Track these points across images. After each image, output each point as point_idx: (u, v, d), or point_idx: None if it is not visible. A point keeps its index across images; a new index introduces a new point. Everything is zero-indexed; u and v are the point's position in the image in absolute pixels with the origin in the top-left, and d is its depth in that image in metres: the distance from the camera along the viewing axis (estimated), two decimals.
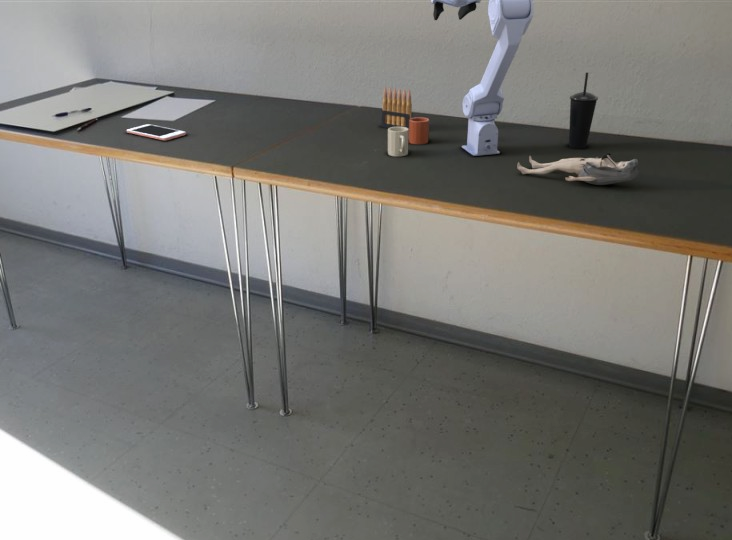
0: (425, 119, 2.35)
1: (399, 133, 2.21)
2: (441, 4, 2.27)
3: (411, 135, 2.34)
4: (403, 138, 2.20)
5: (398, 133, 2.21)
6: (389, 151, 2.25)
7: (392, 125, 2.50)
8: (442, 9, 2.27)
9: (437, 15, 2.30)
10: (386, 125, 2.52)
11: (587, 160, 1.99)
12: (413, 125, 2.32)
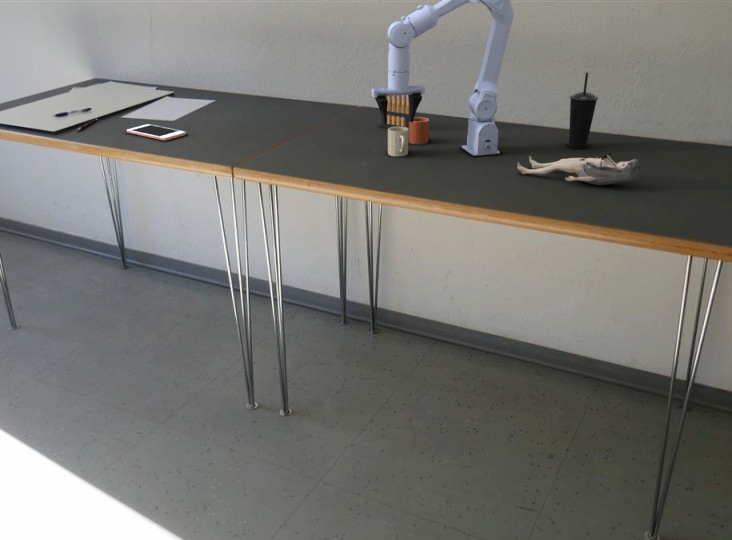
0: (425, 119, 2.35)
1: (399, 133, 2.21)
2: (384, 97, 2.17)
3: (411, 135, 2.34)
4: (403, 138, 2.20)
5: (398, 133, 2.21)
6: (389, 151, 2.25)
7: (392, 125, 2.50)
8: (386, 99, 2.16)
9: (384, 113, 2.19)
10: (386, 125, 2.52)
11: (587, 160, 1.99)
12: (413, 125, 2.32)
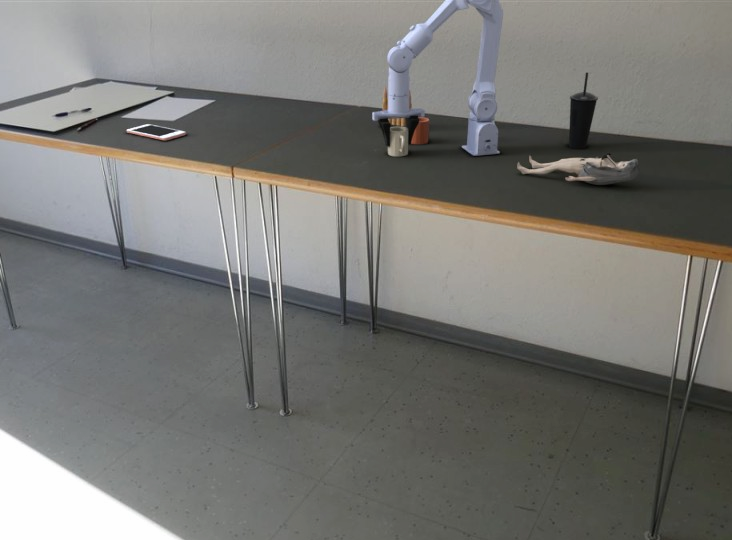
0: (425, 119, 2.35)
1: (399, 133, 2.21)
2: (386, 120, 2.20)
3: None
4: (403, 138, 2.20)
5: (398, 133, 2.21)
6: (389, 151, 2.25)
7: (392, 125, 2.50)
8: (388, 122, 2.19)
9: (387, 136, 2.22)
10: None
11: (587, 160, 1.99)
12: None
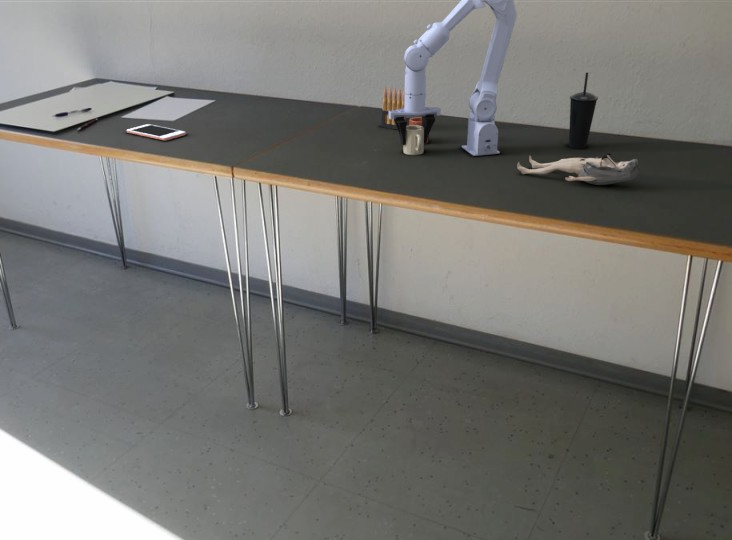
0: None
1: (415, 132, 2.22)
2: (403, 119, 2.21)
3: None
4: (419, 137, 2.21)
5: (414, 131, 2.22)
6: (405, 150, 2.26)
7: (392, 125, 2.50)
8: (404, 121, 2.20)
9: (403, 134, 2.23)
10: (386, 125, 2.52)
11: (587, 160, 1.99)
12: None
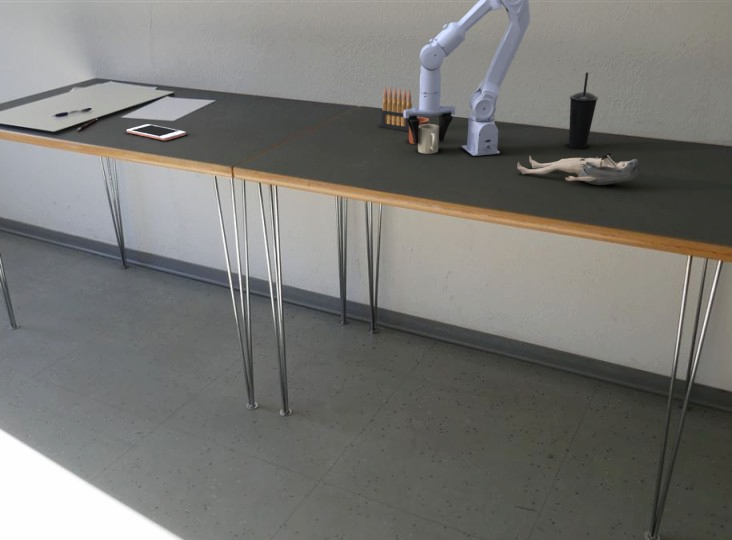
0: (425, 119, 2.35)
1: (430, 130, 2.23)
2: (415, 118, 2.22)
3: (411, 135, 2.34)
4: (434, 135, 2.22)
5: (428, 130, 2.23)
6: (419, 148, 2.27)
7: (392, 125, 2.50)
8: (417, 120, 2.21)
9: (416, 133, 2.24)
10: (386, 125, 2.52)
11: (587, 160, 1.99)
12: None
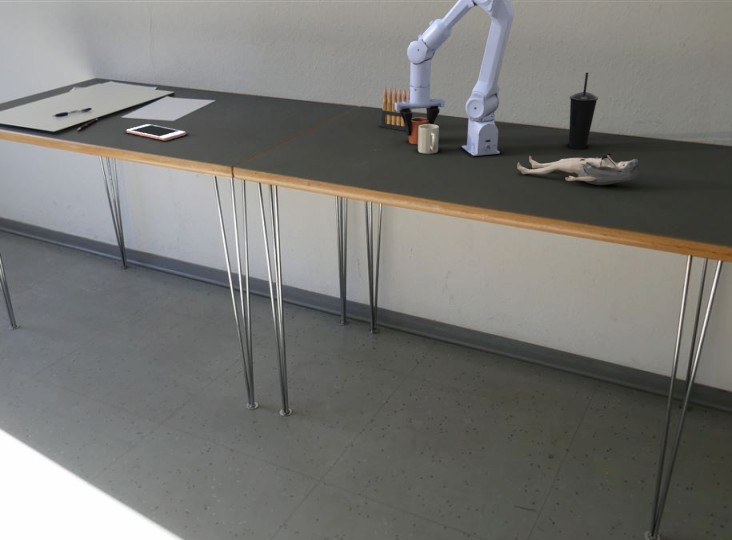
0: (425, 119, 2.35)
1: (430, 130, 2.23)
2: (408, 110, 2.31)
3: (411, 135, 2.34)
4: (434, 135, 2.22)
5: (428, 130, 2.23)
6: (419, 148, 2.27)
7: (392, 125, 2.50)
8: (410, 112, 2.30)
9: (408, 125, 2.32)
10: (386, 125, 2.52)
11: (587, 160, 1.99)
12: (413, 125, 2.32)
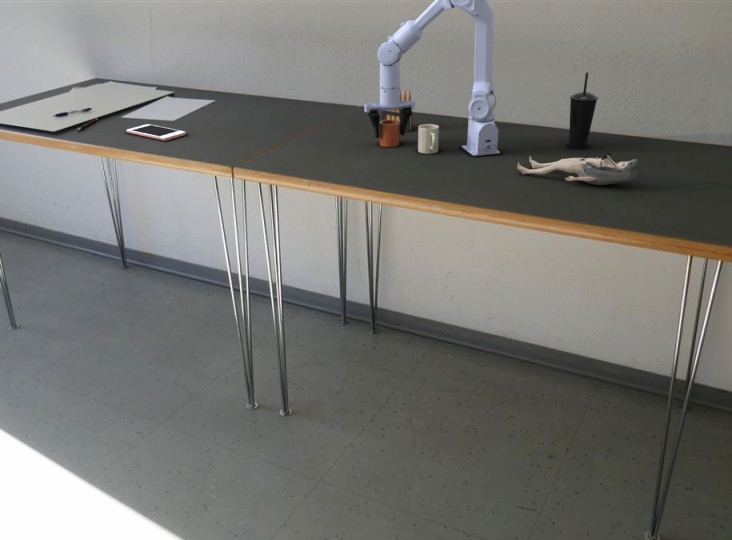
0: (396, 121, 2.33)
1: (430, 130, 2.23)
2: (376, 112, 2.29)
3: (381, 138, 2.33)
4: (434, 135, 2.22)
5: (428, 130, 2.23)
6: (419, 148, 2.27)
7: None
8: (378, 114, 2.28)
9: (376, 127, 2.30)
10: None
11: (587, 160, 1.99)
12: (383, 128, 2.31)
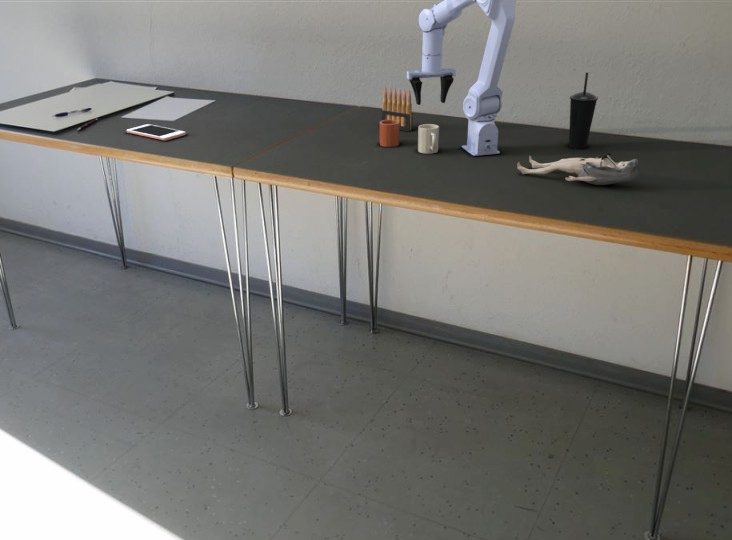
0: (396, 121, 2.33)
1: (430, 130, 2.23)
2: (418, 79, 2.33)
3: (381, 138, 2.33)
4: (434, 135, 2.22)
5: (428, 130, 2.23)
6: (419, 148, 2.27)
7: None
8: (420, 81, 2.32)
9: (418, 94, 2.34)
10: None
11: (587, 160, 1.99)
12: (383, 128, 2.31)
